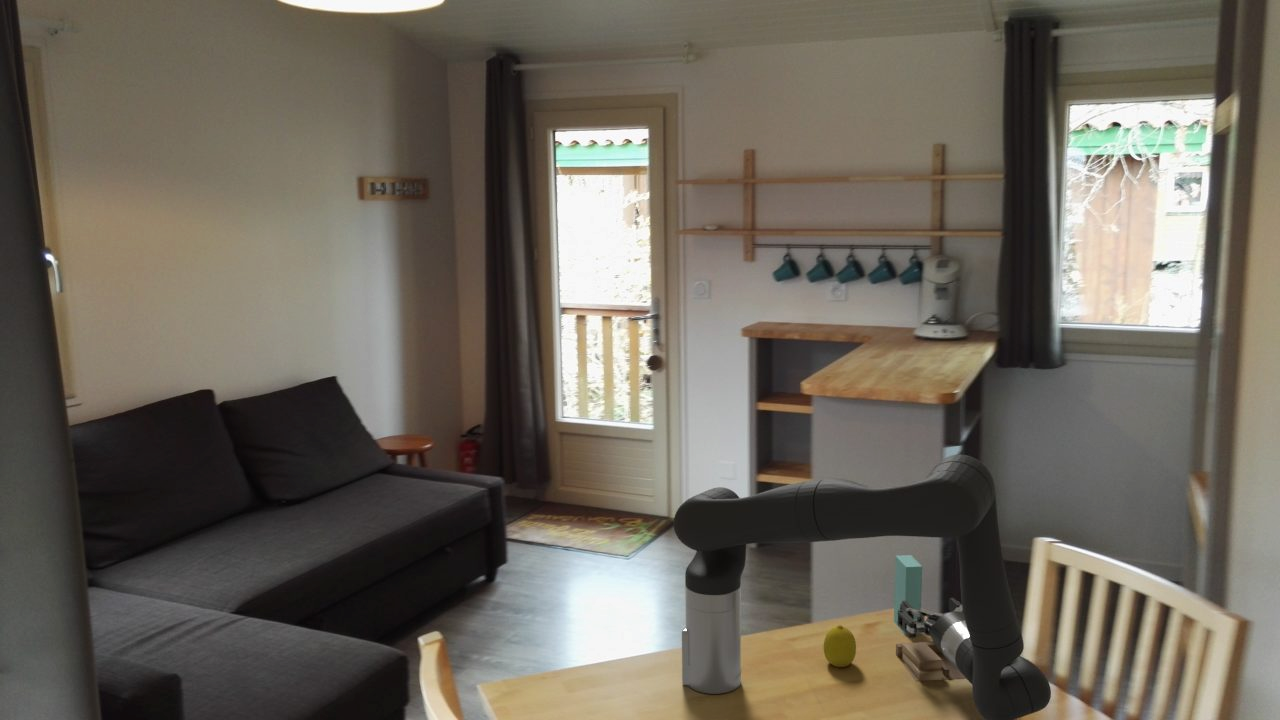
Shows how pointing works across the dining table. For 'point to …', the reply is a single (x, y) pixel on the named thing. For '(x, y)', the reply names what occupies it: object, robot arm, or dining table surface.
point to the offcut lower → (923, 671)
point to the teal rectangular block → (907, 584)
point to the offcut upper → (922, 655)
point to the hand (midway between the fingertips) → (927, 604)
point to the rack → (947, 668)
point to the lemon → (839, 646)
